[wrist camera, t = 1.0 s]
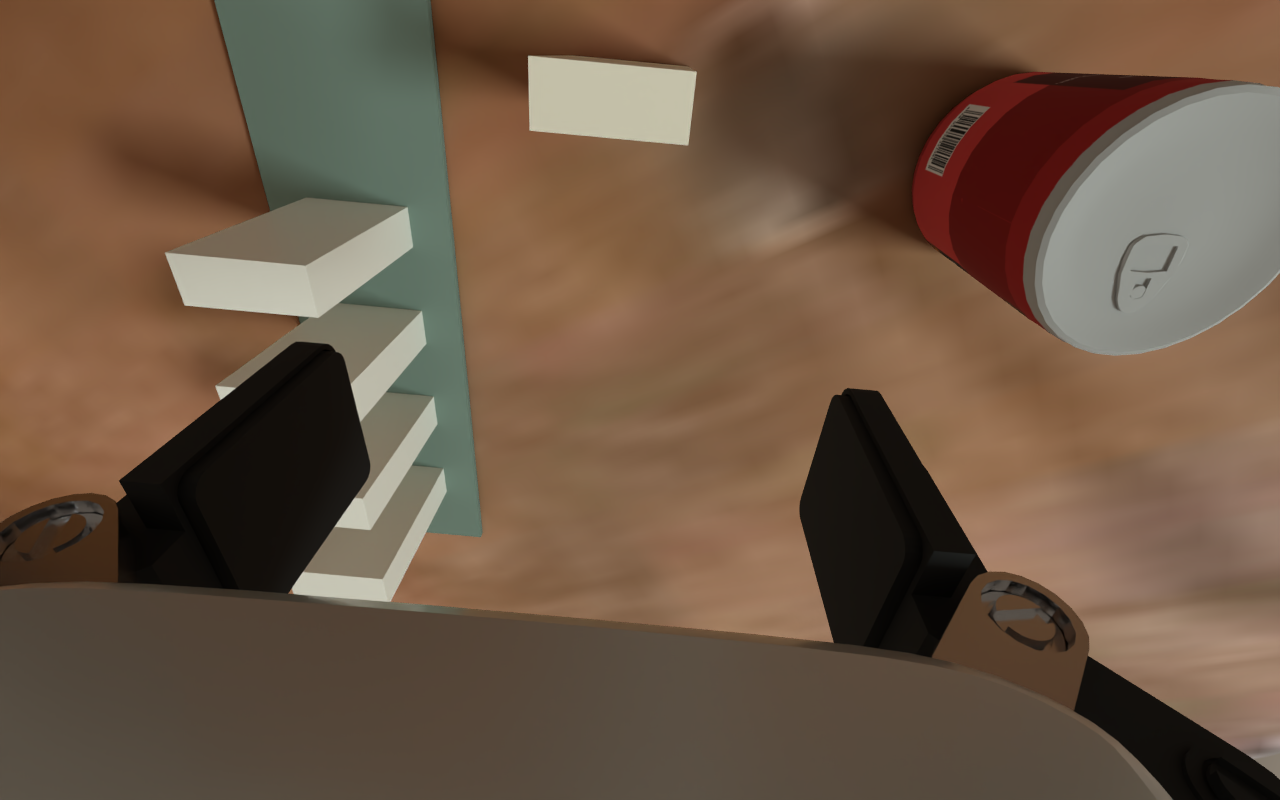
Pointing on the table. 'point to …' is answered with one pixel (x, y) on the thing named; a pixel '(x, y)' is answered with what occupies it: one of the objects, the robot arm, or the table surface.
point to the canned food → (1109, 201)
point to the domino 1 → (292, 257)
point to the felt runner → (368, 176)
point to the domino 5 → (611, 98)
